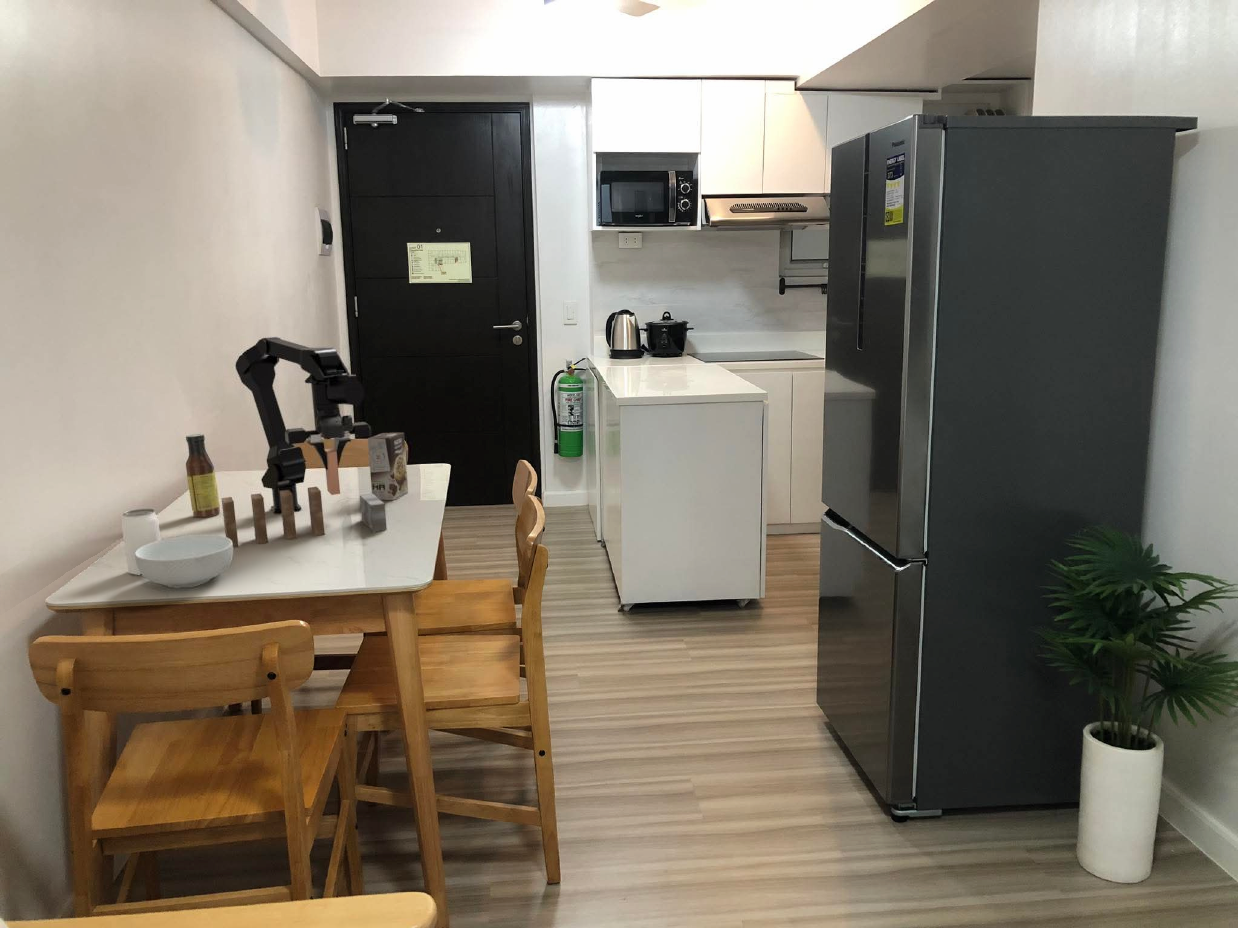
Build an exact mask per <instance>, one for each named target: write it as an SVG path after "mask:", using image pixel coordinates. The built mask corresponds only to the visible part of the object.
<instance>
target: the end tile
mask: <svg viewBox="0 0 1238 928" xmlns="http://www.w3.org/2000/svg"><path fill="white" fill-rule="evenodd" d="M324 449H325V454H326V459H327V465H328V470H326V469H325V477H326V478H325V479H326V486H327V487H326V488H327V489H326V490H327V492H328V493H329V494H330V495H331V496H333V495H341V487H340V476H339V475H340V474H339V467H338V462H337V452H336V451H335V450H334V448H324Z"/></svg>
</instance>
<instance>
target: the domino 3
mask: <svg viewBox="0 0 1238 928" xmlns="http://www.w3.org/2000/svg"><path fill="white" fill-rule="evenodd" d="M280 501H281V511H282V512H281V520H282V528H283V536H284V537H285V538H286V541H288V540H296V539H297V538H298V536H297V530H296V516H295V511H294V505H293V495H292V493H291V492H290V491H289V490H285V491H280Z"/></svg>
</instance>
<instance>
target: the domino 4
mask: <svg viewBox="0 0 1238 928" xmlns="http://www.w3.org/2000/svg"><path fill="white" fill-rule="evenodd" d="M307 496H308V498H307V499H308V507H309V516H310V518H309V519H310V526H311V527H310V528H311V532H312V534H313V535H314V536H315V537H317V536H325V533H326V532H325V521H324V513H323V502H322V501H323V500H322V491H321V489H320V488H319V487H318V486H312V487H307Z"/></svg>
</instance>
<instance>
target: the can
mask: <svg viewBox="0 0 1238 928" xmlns="http://www.w3.org/2000/svg"><path fill="white" fill-rule="evenodd" d="M121 528H122V529H121V530H122V536H123V544H124V552H125V558H126V566H127V567H126V568H127V571H128V573H131V574H130V575H132V574H141V573H140V572H139V570H138V568H137V565H136V560H135V552H136V551H137V550H138V549H139V548H141V547H142V546H144V545H147V544H149V543H152V542H155V541H159V540H162V538H161V532H160V530H161V529H160V525H159V517H158V516H157V515H156V513H155V509H153V508H140V509H139V508H137V509H132V510H131V509H130V510H128V511H125V512H123V513H122V519H121Z"/></svg>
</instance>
